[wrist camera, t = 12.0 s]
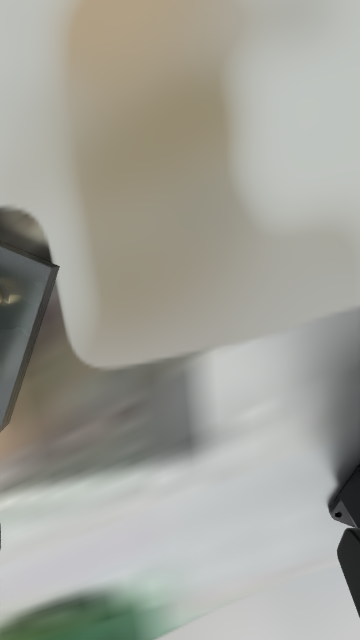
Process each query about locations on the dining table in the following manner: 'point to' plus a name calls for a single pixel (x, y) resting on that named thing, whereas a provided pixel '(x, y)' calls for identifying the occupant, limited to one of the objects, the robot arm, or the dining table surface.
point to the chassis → (20, 317)
